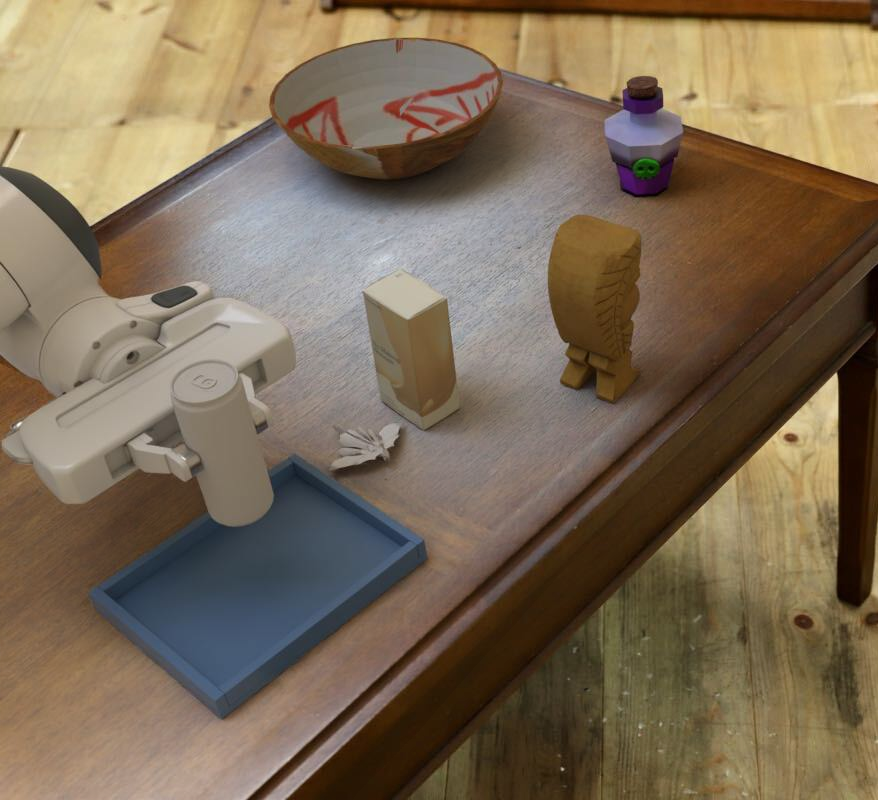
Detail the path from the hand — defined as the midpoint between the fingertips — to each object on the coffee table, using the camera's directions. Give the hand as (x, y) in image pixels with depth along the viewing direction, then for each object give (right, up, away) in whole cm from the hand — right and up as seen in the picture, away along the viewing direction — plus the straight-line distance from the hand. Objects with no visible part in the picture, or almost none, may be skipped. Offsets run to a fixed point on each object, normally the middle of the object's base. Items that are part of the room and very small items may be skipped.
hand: (229, 445), depth 95 cm
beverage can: (0, -5, +5) cm, 7 cm away
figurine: (+25, +5, +27) cm, 37 cm away
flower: (+5, -1, +21) cm, 22 cm away
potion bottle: (+30, +26, +52) cm, 65 cm away
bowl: (+3, +30, +59) cm, 66 cm away
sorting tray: (0, -11, +10) cm, 15 cm away
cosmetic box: (+10, +3, +25) cm, 27 cm away
